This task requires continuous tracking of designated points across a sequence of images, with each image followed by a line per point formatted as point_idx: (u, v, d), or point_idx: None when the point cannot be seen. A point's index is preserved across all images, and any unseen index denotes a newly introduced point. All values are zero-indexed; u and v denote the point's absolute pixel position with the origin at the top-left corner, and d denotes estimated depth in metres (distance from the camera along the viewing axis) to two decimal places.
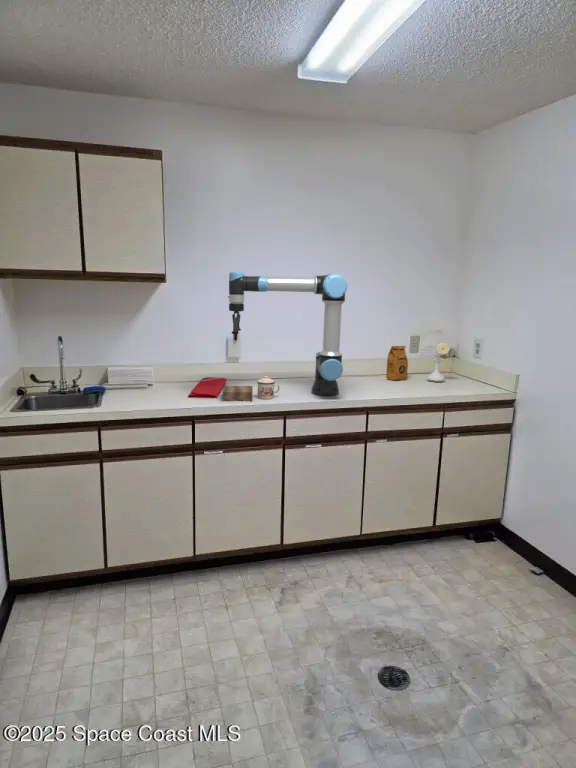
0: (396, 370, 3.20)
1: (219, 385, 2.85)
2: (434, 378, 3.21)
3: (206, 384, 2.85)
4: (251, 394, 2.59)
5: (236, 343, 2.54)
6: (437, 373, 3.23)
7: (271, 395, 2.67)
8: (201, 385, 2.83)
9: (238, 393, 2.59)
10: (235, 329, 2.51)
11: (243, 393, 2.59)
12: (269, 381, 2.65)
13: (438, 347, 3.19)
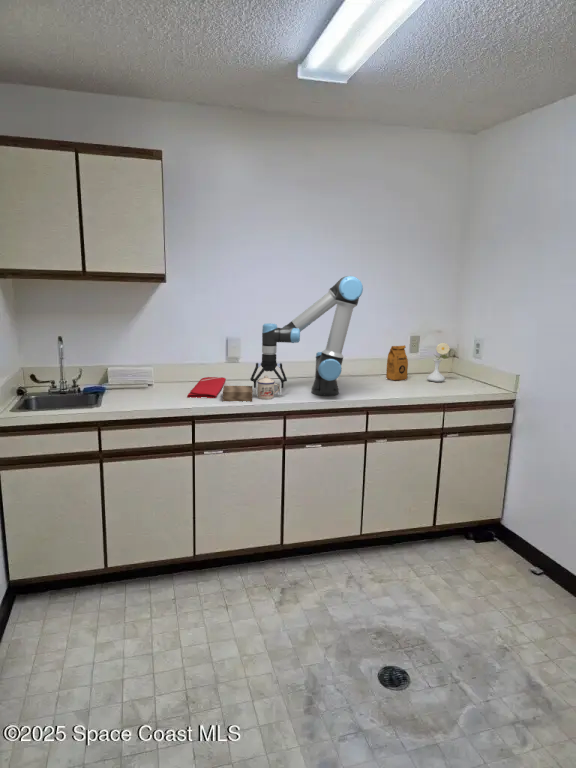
0: (396, 370, 3.20)
1: (218, 385, 2.86)
2: (434, 378, 3.21)
3: (205, 384, 2.85)
4: (251, 394, 2.59)
5: None
6: (437, 373, 3.23)
7: (271, 395, 2.67)
8: (200, 385, 2.83)
9: (238, 393, 2.59)
10: (251, 377, 2.67)
11: (243, 393, 2.59)
12: (269, 381, 2.65)
13: (438, 347, 3.19)
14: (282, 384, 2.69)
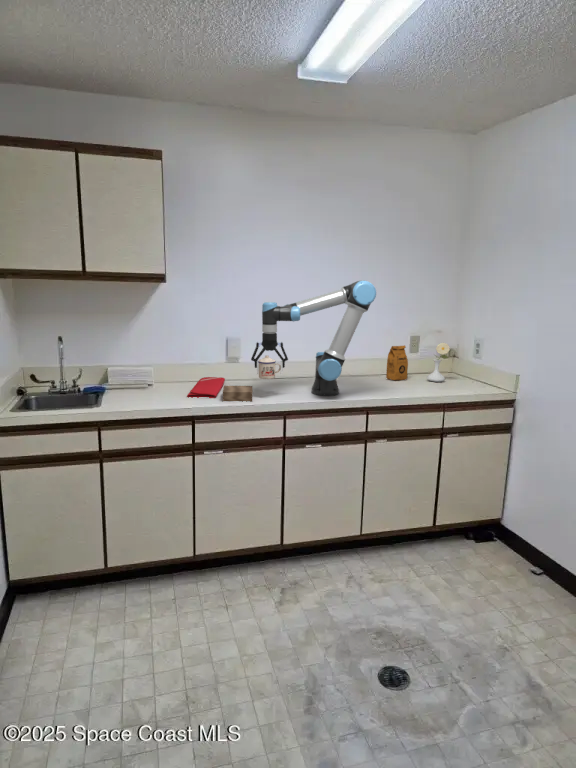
0: (396, 370, 3.20)
1: (218, 385, 2.86)
2: (434, 378, 3.21)
3: (205, 384, 2.86)
4: (251, 394, 2.59)
5: None
6: (437, 373, 3.23)
7: (272, 375, 2.64)
8: (200, 385, 2.83)
9: (238, 393, 2.59)
10: (252, 357, 2.65)
11: (243, 393, 2.59)
12: (270, 360, 2.63)
13: (438, 347, 3.19)
14: (283, 363, 2.66)
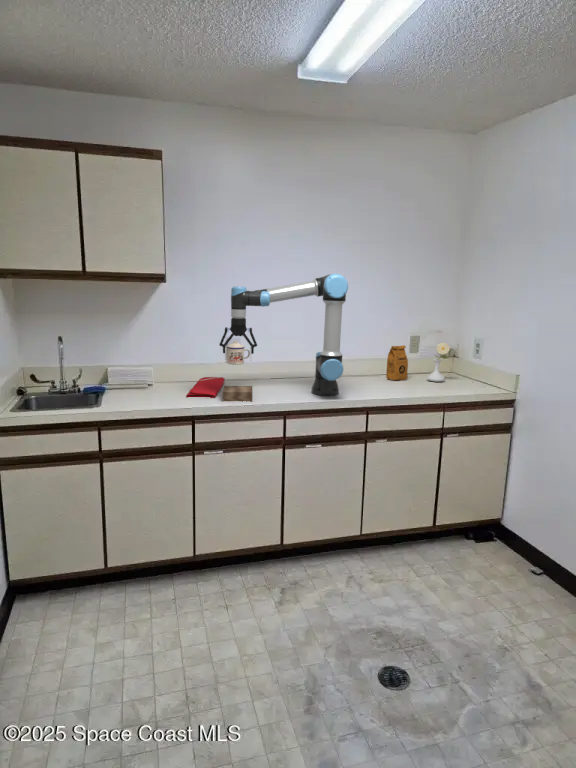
0: (396, 370, 3.20)
1: (217, 385, 2.86)
2: (434, 378, 3.21)
3: (204, 384, 2.86)
4: (251, 394, 2.59)
5: (225, 356, 2.62)
6: (437, 373, 3.23)
7: (241, 360, 2.60)
8: (199, 385, 2.83)
9: (238, 393, 2.59)
10: (220, 342, 2.60)
11: (243, 393, 2.59)
12: (238, 346, 2.58)
13: (438, 347, 3.19)
14: (252, 349, 2.62)
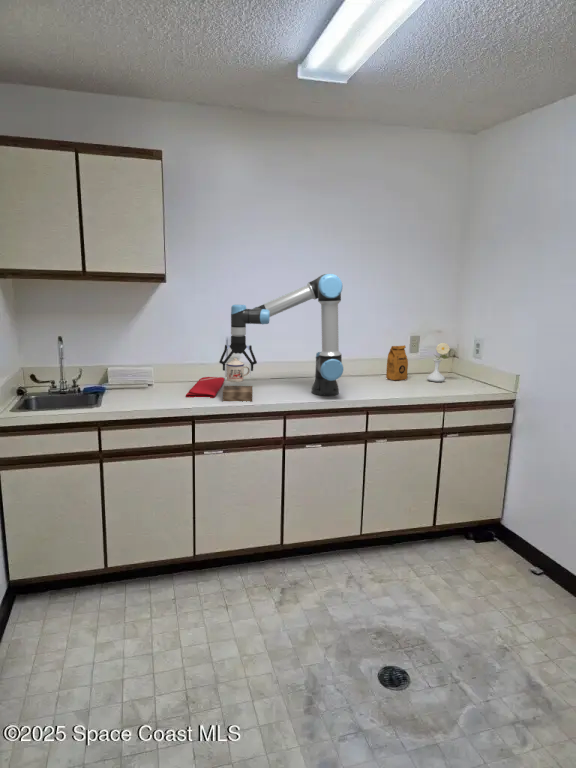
0: (396, 370, 3.20)
1: (217, 385, 2.86)
2: (434, 378, 3.21)
3: (204, 384, 2.86)
4: (251, 394, 2.59)
5: (225, 373, 2.63)
6: (437, 373, 3.23)
7: (240, 378, 2.61)
8: (199, 384, 2.83)
9: (238, 393, 2.59)
10: (220, 359, 2.62)
11: (243, 393, 2.59)
12: (238, 363, 2.60)
13: (438, 347, 3.19)
14: (252, 367, 2.63)
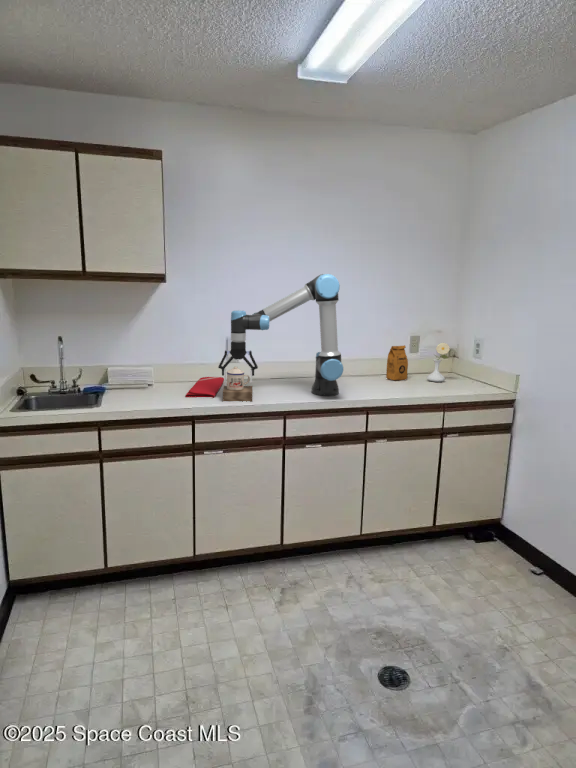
0: (396, 370, 3.20)
1: (216, 384, 2.86)
2: (434, 378, 3.21)
3: (204, 383, 2.86)
4: (251, 394, 2.59)
5: (224, 378, 2.64)
6: (437, 373, 3.23)
7: (240, 386, 2.62)
8: (199, 384, 2.84)
9: (238, 393, 2.59)
10: None
11: (243, 393, 2.59)
12: (238, 372, 2.61)
13: (438, 347, 3.19)
14: (253, 372, 2.64)
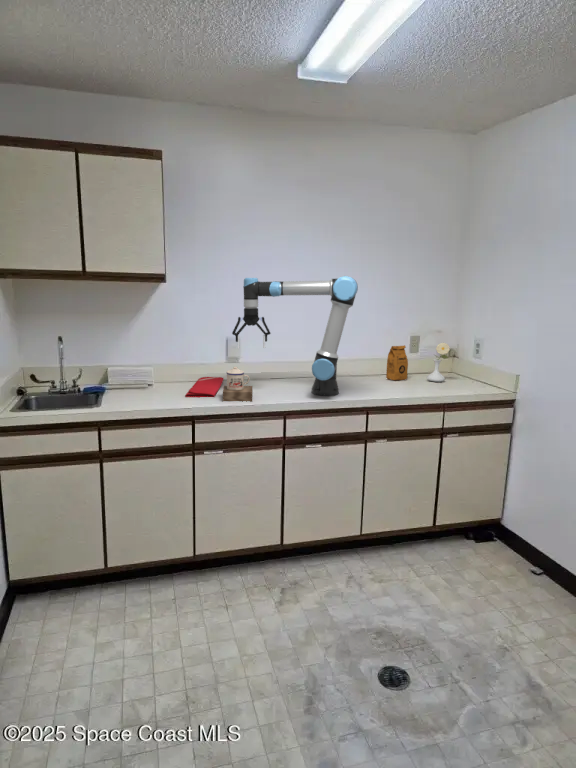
0: (396, 370, 3.20)
1: (216, 384, 2.87)
2: (434, 378, 3.21)
3: (203, 383, 2.86)
4: (251, 394, 2.59)
5: (238, 345, 2.71)
6: (437, 373, 3.23)
7: (240, 386, 2.62)
8: (198, 384, 2.84)
9: (238, 393, 2.59)
10: (233, 331, 2.70)
11: (243, 393, 2.59)
12: (238, 372, 2.61)
13: (438, 347, 3.19)
14: (266, 337, 2.72)
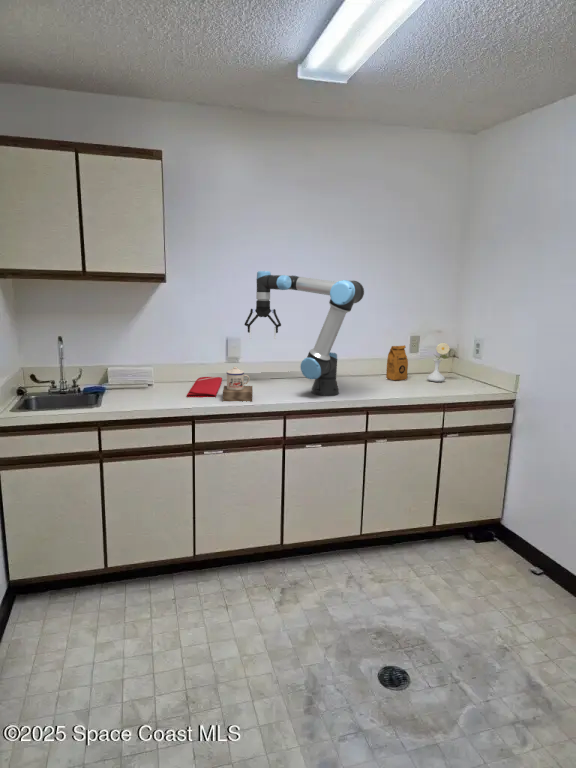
0: (396, 370, 3.20)
1: (216, 384, 2.87)
2: (434, 378, 3.21)
3: (203, 383, 2.86)
4: (251, 394, 2.59)
5: None
6: (437, 373, 3.23)
7: (240, 386, 2.62)
8: (198, 384, 2.84)
9: (238, 393, 2.59)
10: (245, 322, 2.81)
11: (243, 393, 2.59)
12: (238, 372, 2.61)
13: (438, 347, 3.19)
14: (276, 329, 2.82)
